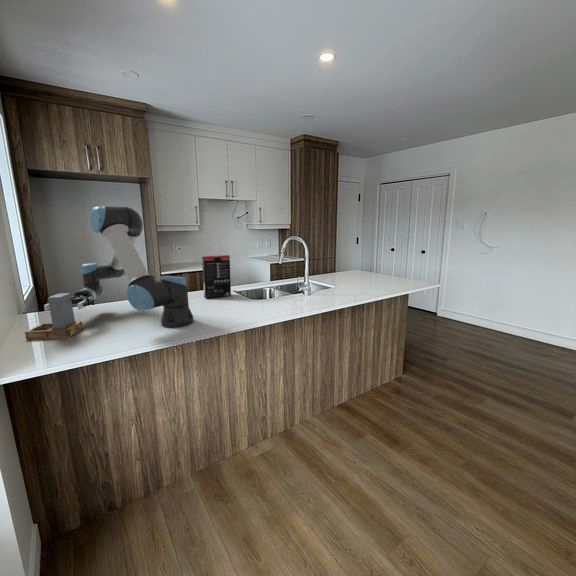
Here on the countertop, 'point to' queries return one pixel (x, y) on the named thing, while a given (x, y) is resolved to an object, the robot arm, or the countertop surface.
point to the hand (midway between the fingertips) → (62, 307)
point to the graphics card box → (216, 276)
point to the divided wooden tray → (52, 331)
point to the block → (61, 311)
